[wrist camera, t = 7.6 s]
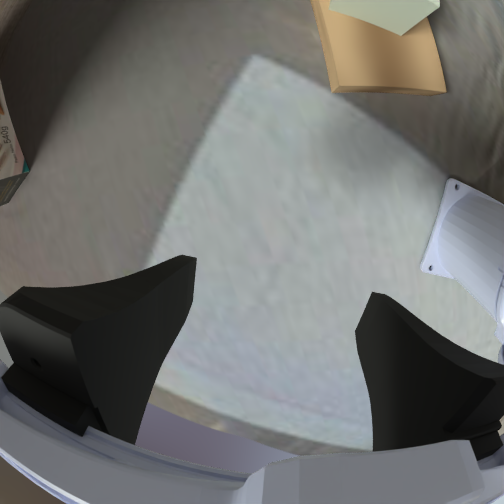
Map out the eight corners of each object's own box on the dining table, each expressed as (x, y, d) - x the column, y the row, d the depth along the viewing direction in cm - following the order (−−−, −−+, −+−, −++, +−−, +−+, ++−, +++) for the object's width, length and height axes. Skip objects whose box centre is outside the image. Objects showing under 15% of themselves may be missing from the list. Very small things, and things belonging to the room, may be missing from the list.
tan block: (383, -39, 10) (394, -54, 8) (426, 96, 15) (446, 92, 13) (293, -46, 11) (294, -65, 9) (330, 94, 17) (339, 85, 14)
